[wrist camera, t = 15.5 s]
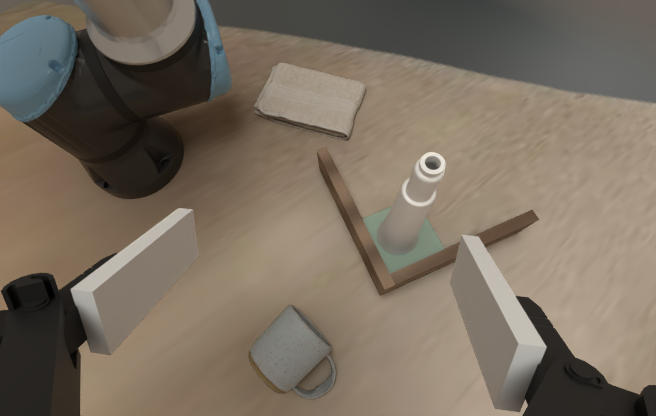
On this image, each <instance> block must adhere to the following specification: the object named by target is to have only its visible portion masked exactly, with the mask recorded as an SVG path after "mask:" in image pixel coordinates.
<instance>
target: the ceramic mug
mask: <svg viewBox="0 0 656 416" xmlns="http://www.w3.org/2000/svg"><path fill="white" fill-rule="evenodd" d="M331 350H332V347H331V345H330V344H329V342H328V341H327V340H326V338H325V337H324V336H323V335H322V333H321V332H320V331H319V330H318V329H317V328H316V327H315V326H314V324H313V323H312V322H311V321H310V320H309V319H308V318H307V317H306V316H305V315H304V314H303V313H302V312H301V311H300V310H299V309H297V308H296V307H295V306H293V305H289V306H288V307H287V308H286V309H285V310H284V311H283V312H282V313H281V314H280V315H279V317H278V318H277V319H276V320H275V321H274V322H273V323H272V324H271V325H270V326H269V327H268V328H267V330H266V331H265V332H264V333H263V334H262V335H261V336H260V337H259V338H258V339H257V340H256V341H255V343H254V344H253V346H252V347H251V349H250V350H249V361H250V363H251V366H252V367H253V369H254V371H255V372H256V373H257V375H258V376H259V377H260V378H261V379H262V381H263V382H264V383H265V384H266V385H267V386H268V387H270V388H271V389H272V390H274V391H275V392H278V393H286V392H288V391H290V390H291V389H293V390H294V391H295V392H296V393H297V394H298V395H300V396H301V397H304V398H306V399H315V398H319V397H321V396H323V395H324V394H326V393H327V392H328V391H329V390H330V389H331V387H332V386H333V384H334V382H335V379H336V368H335V364H334V362H333V360H332V358H331V356H330V354H329V352H330V351H331ZM325 356H326V357H327V358H328V359H329V361H330V364H331V375H330V376H329V378H328V379H327V380H326V381H325V382H324V383H323V384H321V385H320V386H319V387H316V388H315V390H314V391H306V390H303V389H301V388H300V387H298V386H297V384H298V383H299V382H300V381H301V380H302V379H303V378H304V377H305V376H306V375H307V374H308V373H309V372H310V371H311V370H312V369H313V368H314V367H315V366H316V365H317V364H318V363H319V362H320V361H321V360H322V359H323V358H324V357H325Z"/></svg>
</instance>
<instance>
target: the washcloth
mask: <svg viewBox="0 0 656 416" xmlns="http://www.w3.org/2000/svg"><path fill="white" fill-rule="evenodd" d="M365 90H366V86H365V85H364V84H363V83H362V82H357V81H355V80H349V79H347V78H342V77H338V76H334V75H331V74H327V73H325V72H324V73H323V72H318V71H314V70H310V69H305V68H302V67H297V66H294V65H292V64H286V63H284V62H283V63H278V65H276V66H274V67H273V68H272V73H271V75H270V77H269V79H268V81H267V82H266V84H265V86H264V88H263V90H262V92H261V93H260V95H259V97H258V99H257V101H256V103H255V104H254V108H256V109H255V113H256V114H258V115H261V116H263V117H264V118H266V119H269V120H272V121H274V122H277V123H281V124H284V125H288V126H292V127H296V128H299V129H303V130H307V131H310V132H314V133H318V134H322V135H326V136H329V137H333V138H336V139H341V140H346V139H348V138H349V136H350V134H351V131H352V127H353V122H354V117H355V115H356V112H357V110H358V109H359V107H360V105H361V102H362V99H363V96H364V93H365Z"/></svg>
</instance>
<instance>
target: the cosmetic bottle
mask: <svg viewBox="0 0 656 416" xmlns="http://www.w3.org/2000/svg"><path fill="white" fill-rule="evenodd" d="M444 173H445V160H444V158H443V157H442V156H441V155H439V154H438V153H434V152H429V153H426V154H424V155H423V156H422V157H421V158H420V159H419V160H418V161H417V162H416V164H415V166H414V168H413V171H412V173H411V176H410V178H408V179H407V180H406V181H405V182H404V183H403V185H402V187H401V189H400V191H399V193H398V195H397V197H396V199H395V201H394V203H393V205H392V207H391V209H390V211H389V213H388V215H387V217H386V218H385V219H384V220H383V221H382V222H381V223H380V225H379V227H378V229H377V239H378V242H379V244H380V246H381V247H382V248H383V249H384V250H385V251H387V252H388V253H391V254H394V255H403V254H406V253H408V252H410V251H411V250H412V249H413V248H414V247H415V246H416V244H417V241H418V234H419V231H420V228H421V226H422V224H423V222H424V220H425V218H426V216H427V214H428V212H429V210H430V208H431V206H432V204H433V202H434V200H435V197H436V188H437V187H438V185H439V183H440V182H441V180H442V178H443V176H444Z"/></svg>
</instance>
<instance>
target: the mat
mask: <svg viewBox="0 0 656 416" xmlns="http://www.w3.org/2000/svg"><path fill="white" fill-rule="evenodd" d="M391 207H392V206H391ZM391 207H389V208H387V209H384V210H382V211H380V212H377V213H375V214H373V215H370V216H368V217H366V218H363V221H364V223H365V225H366V227H367V229H368V231H369V233H370V235H371V237H372V239H373V241H374V243H375V245H376V247H377V249H378V251H379V253H380V255H381V257H382V259H383V261H384V263H385V265H386V267H387V269H388V271H389V273H390V274H391V273H393V272H395V271H397V270H399V269H402V268H404V267H406V266H408V265H411V264H413V263H415V262H417V261H419V260H422V259H424V258H426V257H428V256H431V255H433V254H435V253H437V252H439V251H442V250H444V249H445V248H444V246H443V245H442V243H441V241H440V240H439V238H438V236H437V234H436V233H435V231H434V229H433V228H432V226H431V224H430V222H429V221H428V219H427V217H426V218H425V220H424V222H423V224H422V226H421V228H420V231H419V234H418V241H417V244H416V246H415V247H414V248H413V249H412V250H411V251H410V252H408V253H406V254H403V255H394V254H391V253H388V252H387V251H385V250H384V249H383V248H382V247H381V246H380V244H379V242H378V239H377V229H378V227H379V225H380V223H381V222H382V221H383V220H384V219H385V218H386V217H387V215H388V213H389V211H390V209H391Z"/></svg>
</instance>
